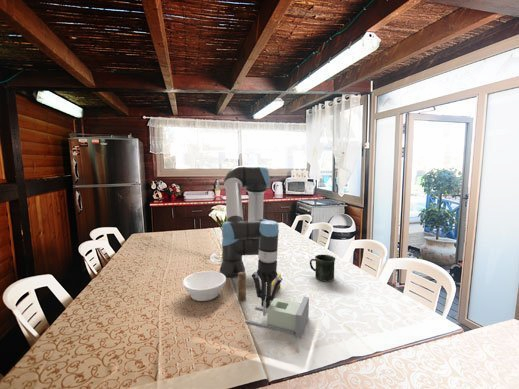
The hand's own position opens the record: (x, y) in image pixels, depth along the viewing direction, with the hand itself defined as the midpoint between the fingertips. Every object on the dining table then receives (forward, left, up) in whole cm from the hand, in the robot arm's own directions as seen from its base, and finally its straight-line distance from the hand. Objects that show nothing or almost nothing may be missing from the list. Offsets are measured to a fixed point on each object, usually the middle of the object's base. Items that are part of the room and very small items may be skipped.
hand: (265, 314), depth 106 cm
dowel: (-16, +10, -3) cm, 19 cm away
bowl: (-36, +9, -4) cm, 37 cm away
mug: (+15, +51, -3) cm, 54 cm away
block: (+8, 0, -2) cm, 9 cm away
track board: (+4, 0, -3) cm, 5 cm away
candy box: (-4, +21, -4) cm, 22 cm away
